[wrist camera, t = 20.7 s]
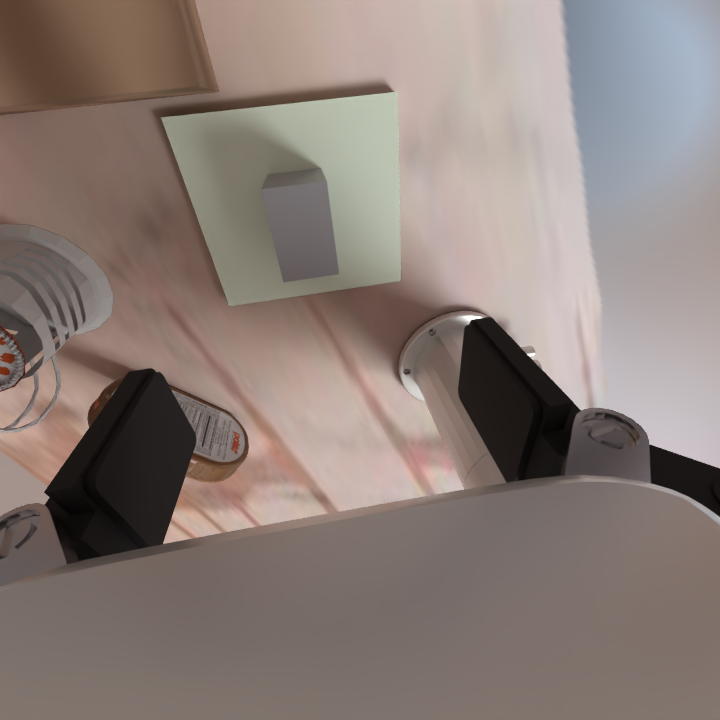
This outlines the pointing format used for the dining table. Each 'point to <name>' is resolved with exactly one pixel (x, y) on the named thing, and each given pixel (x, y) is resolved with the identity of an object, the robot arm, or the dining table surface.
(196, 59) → the housing
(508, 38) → the dining table surface
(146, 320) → the dining table surface
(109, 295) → the french press
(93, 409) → the tin
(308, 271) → the cover
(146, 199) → the dining table surface
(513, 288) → the dining table surface
